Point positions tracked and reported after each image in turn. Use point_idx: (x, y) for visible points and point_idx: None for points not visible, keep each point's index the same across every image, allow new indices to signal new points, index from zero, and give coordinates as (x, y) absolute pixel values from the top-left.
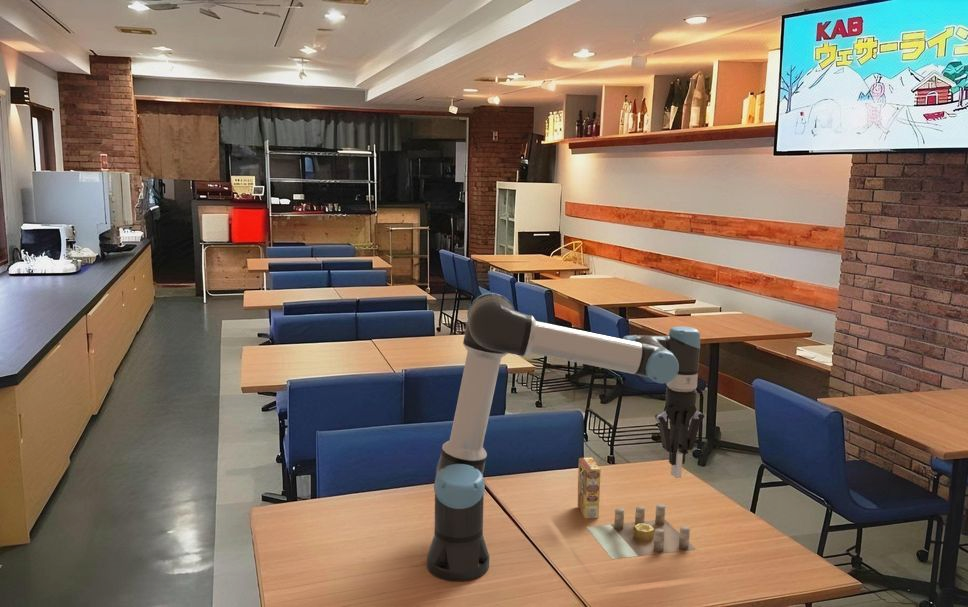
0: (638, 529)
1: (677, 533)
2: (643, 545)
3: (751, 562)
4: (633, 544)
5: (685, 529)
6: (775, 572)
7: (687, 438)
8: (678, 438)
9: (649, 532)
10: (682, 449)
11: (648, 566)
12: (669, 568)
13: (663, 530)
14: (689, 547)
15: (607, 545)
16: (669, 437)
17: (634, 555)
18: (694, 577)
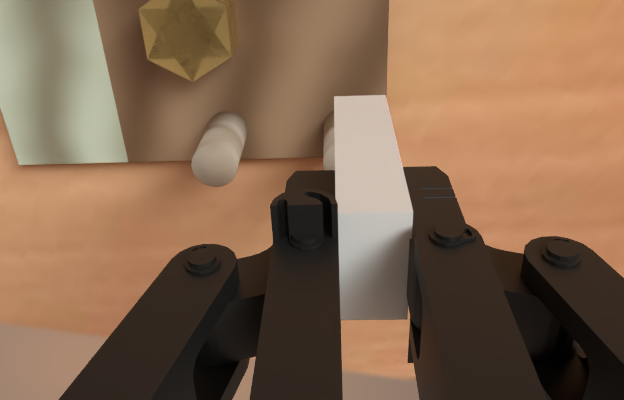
0: (151, 49)
1: (377, 9)
2: (174, 89)
3: (548, 230)
4: (132, 74)
5: None
6: None
7: (593, 357)
8: (437, 334)
9: (200, 76)
10: (411, 349)
11: (161, 194)
12: (233, 217)
13: (232, 166)
14: None
15: (13, 63)
16: (256, 359)
17: (113, 156)
18: None
